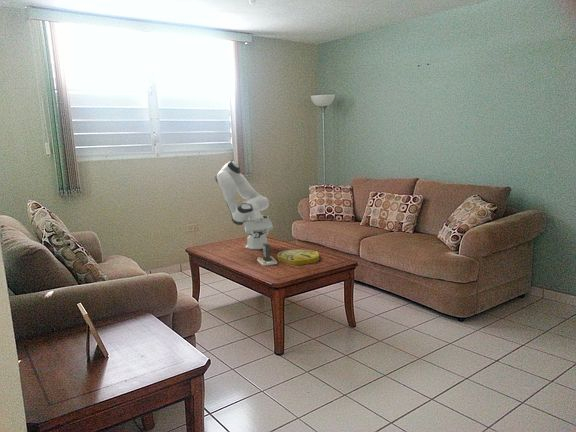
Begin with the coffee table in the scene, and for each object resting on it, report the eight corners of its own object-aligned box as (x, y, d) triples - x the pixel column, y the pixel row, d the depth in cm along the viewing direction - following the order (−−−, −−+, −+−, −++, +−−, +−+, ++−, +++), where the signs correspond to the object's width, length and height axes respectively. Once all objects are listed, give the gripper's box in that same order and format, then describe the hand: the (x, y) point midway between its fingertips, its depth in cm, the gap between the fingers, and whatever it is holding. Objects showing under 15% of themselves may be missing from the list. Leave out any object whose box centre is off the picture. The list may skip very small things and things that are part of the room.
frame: (262, 259, 303) (262, 243, 301) (268, 258, 304) (268, 243, 302) (265, 261, 298) (264, 245, 296) (271, 260, 299) (270, 244, 297)
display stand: (257, 260, 305) (256, 257, 305) (270, 259, 309) (270, 255, 309) (263, 265, 294) (262, 261, 293) (277, 263, 297) (277, 259, 297)
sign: (293, 247, 328) (327, 252, 310) (293, 251, 328) (327, 257, 310) (269, 256, 306) (304, 262, 288) (269, 260, 306) (304, 267, 288)
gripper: (243, 218, 309) (247, 235, 301) (270, 216, 316) (275, 231, 309) (241, 224, 314) (246, 240, 306) (268, 221, 321) (273, 236, 314)
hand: (261, 236), depth 308 cm, fingers open, 8 cm apart
